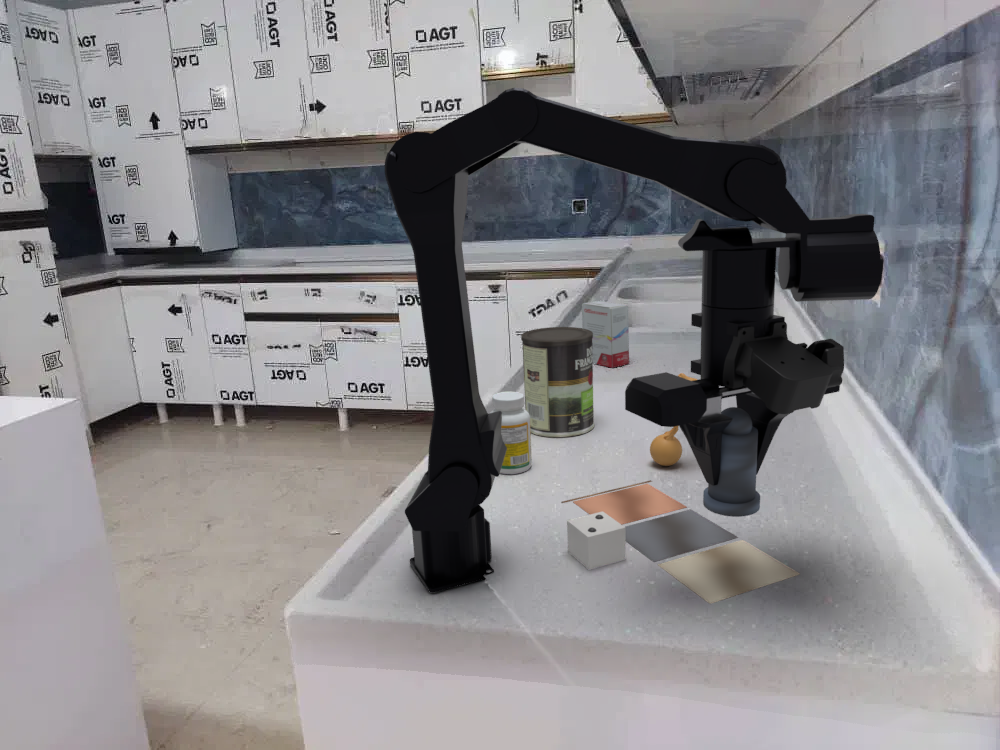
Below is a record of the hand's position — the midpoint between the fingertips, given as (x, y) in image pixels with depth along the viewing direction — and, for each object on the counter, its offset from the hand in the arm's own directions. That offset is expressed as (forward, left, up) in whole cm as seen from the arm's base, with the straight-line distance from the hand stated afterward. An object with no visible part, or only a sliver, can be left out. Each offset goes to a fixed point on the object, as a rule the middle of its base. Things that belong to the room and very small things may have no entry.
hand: (731, 479), depth 65 cm
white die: (-9, +8, -10) cm, 15 cm away
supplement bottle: (-6, +34, -10) cm, 36 cm away
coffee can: (+7, +45, -10) cm, 47 cm away
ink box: (+33, +74, -10) cm, 82 cm away
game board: (0, +8, -9) cm, 12 cm away
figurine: (+12, +24, -10) cm, 28 cm away
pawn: (0, 0, -2) cm, 2 cm away
